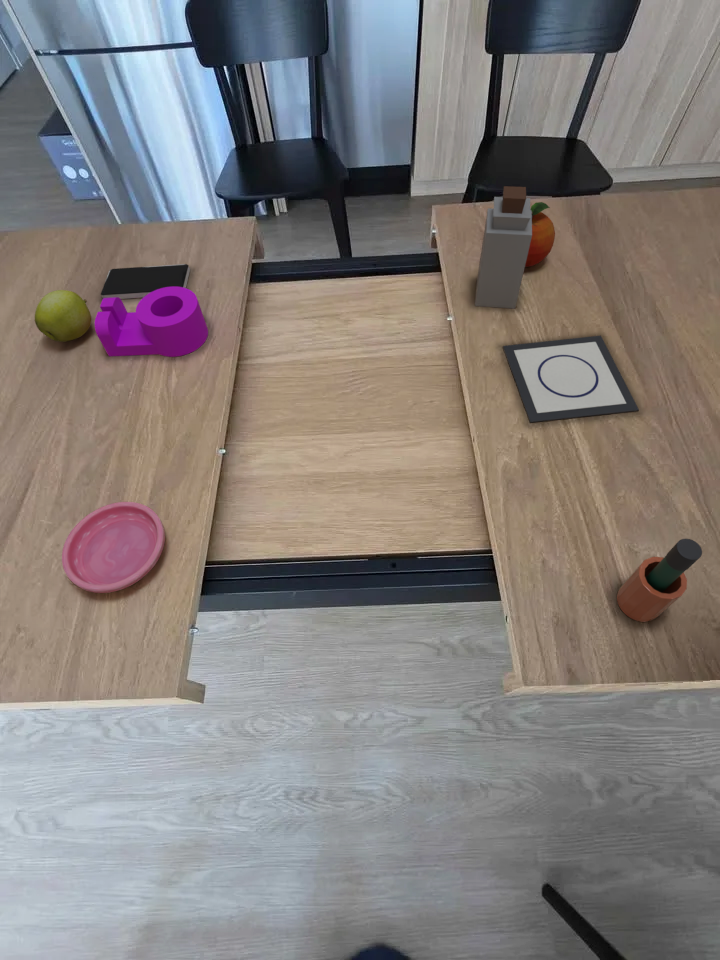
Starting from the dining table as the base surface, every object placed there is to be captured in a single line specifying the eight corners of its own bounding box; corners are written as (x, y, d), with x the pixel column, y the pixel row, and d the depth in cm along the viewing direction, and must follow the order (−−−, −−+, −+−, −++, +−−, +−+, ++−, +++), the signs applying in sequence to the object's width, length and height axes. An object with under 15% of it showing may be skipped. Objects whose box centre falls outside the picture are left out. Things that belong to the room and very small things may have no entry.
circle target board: (600, 336, 89) (601, 334, 89) (638, 411, 80) (639, 409, 80) (502, 347, 89) (503, 345, 89) (529, 423, 80) (530, 421, 80)
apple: (110, 323, 96) (90, 284, 90) (75, 357, 92) (51, 319, 85) (76, 312, 99) (53, 273, 92) (40, 345, 94) (13, 307, 87)
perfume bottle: (515, 308, 94) (538, 206, 79) (475, 305, 95) (490, 204, 80) (515, 283, 98) (537, 181, 83) (476, 281, 99) (492, 179, 84)
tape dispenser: (211, 315, 96) (201, 285, 91) (203, 355, 91) (192, 325, 86) (121, 319, 97) (106, 289, 92) (107, 359, 91) (90, 330, 86)
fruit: (485, 253, 103) (493, 200, 95) (528, 238, 105) (540, 186, 97) (514, 281, 98) (525, 229, 90) (558, 266, 100) (574, 213, 92)
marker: (644, 589, 65) (695, 537, 54) (652, 608, 63) (706, 558, 53) (625, 591, 65) (672, 539, 54) (633, 610, 63) (682, 561, 53)
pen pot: (650, 580, 66) (675, 553, 60) (667, 619, 63) (695, 596, 57) (610, 584, 66) (631, 558, 60) (625, 624, 63) (649, 601, 57)
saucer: (64, 537, 73) (52, 525, 70) (156, 498, 76) (147, 485, 73) (83, 617, 66) (71, 608, 64) (182, 572, 69) (174, 561, 67)
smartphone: (110, 268, 104) (188, 263, 103) (112, 273, 105) (190, 268, 104) (99, 295, 99) (182, 290, 99) (102, 301, 100) (184, 296, 100)
